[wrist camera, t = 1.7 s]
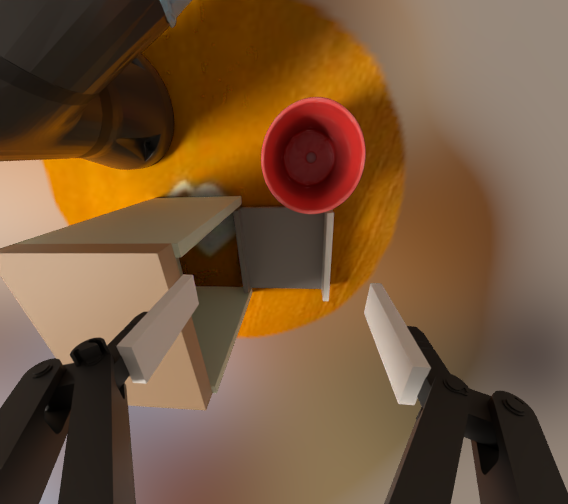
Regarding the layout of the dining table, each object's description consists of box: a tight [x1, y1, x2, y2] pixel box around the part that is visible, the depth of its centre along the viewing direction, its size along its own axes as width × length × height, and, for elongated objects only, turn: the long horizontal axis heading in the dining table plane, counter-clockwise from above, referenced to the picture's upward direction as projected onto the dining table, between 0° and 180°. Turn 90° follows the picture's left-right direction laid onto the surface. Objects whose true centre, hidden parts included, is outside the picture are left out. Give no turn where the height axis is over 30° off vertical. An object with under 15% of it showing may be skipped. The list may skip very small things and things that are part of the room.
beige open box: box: [0, 196, 252, 410], centre depth 29 cm, size 18×14×21 cm
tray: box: [233, 206, 334, 301], centre depth 35 cm, size 15×14×4 cm
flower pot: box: [261, 97, 366, 214], centre depth 26 cm, size 11×11×10 cm
